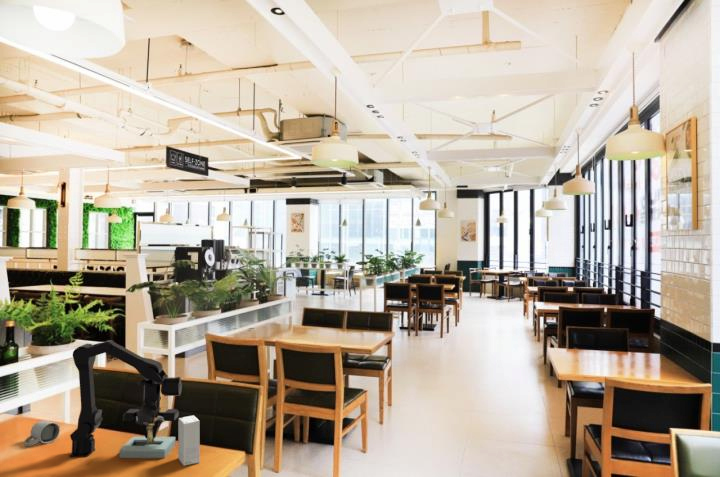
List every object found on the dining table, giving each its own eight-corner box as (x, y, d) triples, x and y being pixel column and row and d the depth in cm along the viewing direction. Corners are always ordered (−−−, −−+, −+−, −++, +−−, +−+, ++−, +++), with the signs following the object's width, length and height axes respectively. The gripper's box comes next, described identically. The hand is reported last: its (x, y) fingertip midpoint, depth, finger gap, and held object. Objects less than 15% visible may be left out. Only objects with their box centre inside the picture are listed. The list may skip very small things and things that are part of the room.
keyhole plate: (119, 457, 177) (119, 449, 178) (133, 445, 189) (133, 436, 189) (164, 458, 178) (164, 449, 178) (175, 445, 190) (175, 436, 190)
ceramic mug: (48, 435, 197) (48, 416, 197) (60, 439, 193) (60, 420, 193) (19, 445, 187) (19, 424, 187) (31, 449, 183) (31, 428, 184)
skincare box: (199, 463, 175) (201, 420, 175) (182, 466, 172) (183, 423, 172) (193, 454, 182) (194, 414, 182) (176, 458, 179) (178, 416, 179)
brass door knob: (141, 452, 181) (141, 427, 182) (146, 447, 186) (146, 422, 186) (154, 452, 182) (155, 427, 182) (159, 447, 186) (159, 422, 187)
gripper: (117, 402, 176) (115, 446, 175) (170, 402, 177) (168, 446, 176) (130, 393, 187) (128, 435, 187) (179, 393, 188) (178, 435, 188)
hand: (150, 438), depth 184 cm, fingers closed on brass door knob, 2 cm apart
